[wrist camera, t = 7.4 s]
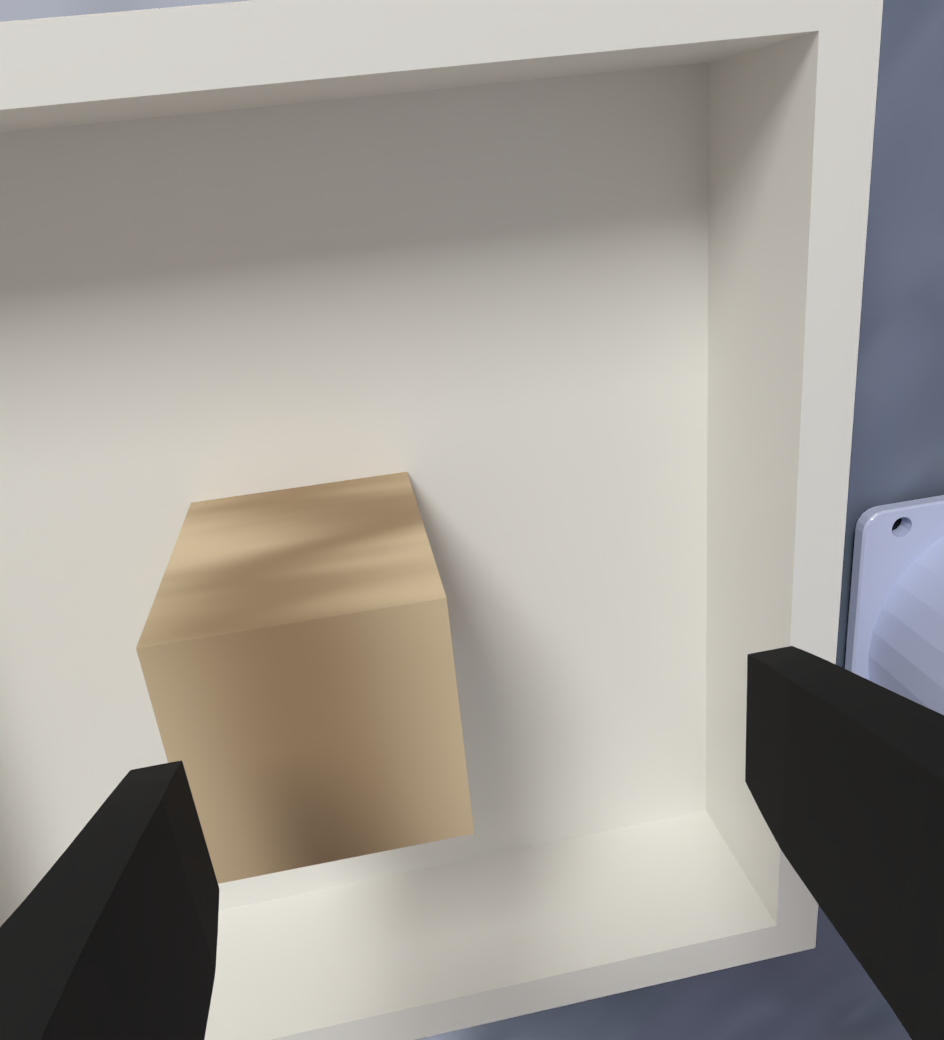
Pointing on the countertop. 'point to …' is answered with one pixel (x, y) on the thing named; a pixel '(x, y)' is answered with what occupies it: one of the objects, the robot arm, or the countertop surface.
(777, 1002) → the countertop surface
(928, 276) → the countertop surface
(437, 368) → the bin
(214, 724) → the maple block
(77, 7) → the countertop surface
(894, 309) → the countertop surface
